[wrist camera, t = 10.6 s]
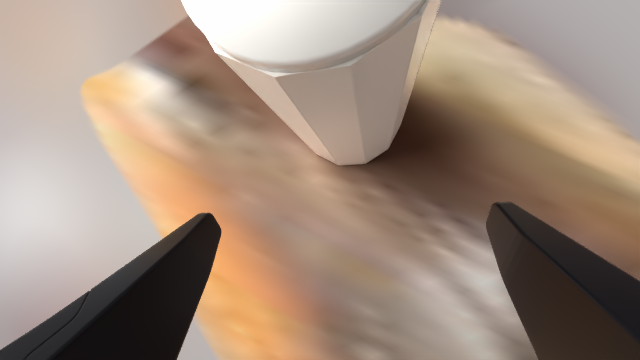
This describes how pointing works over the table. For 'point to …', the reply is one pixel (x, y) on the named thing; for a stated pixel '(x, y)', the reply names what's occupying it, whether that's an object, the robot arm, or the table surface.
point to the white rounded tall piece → (325, 64)
